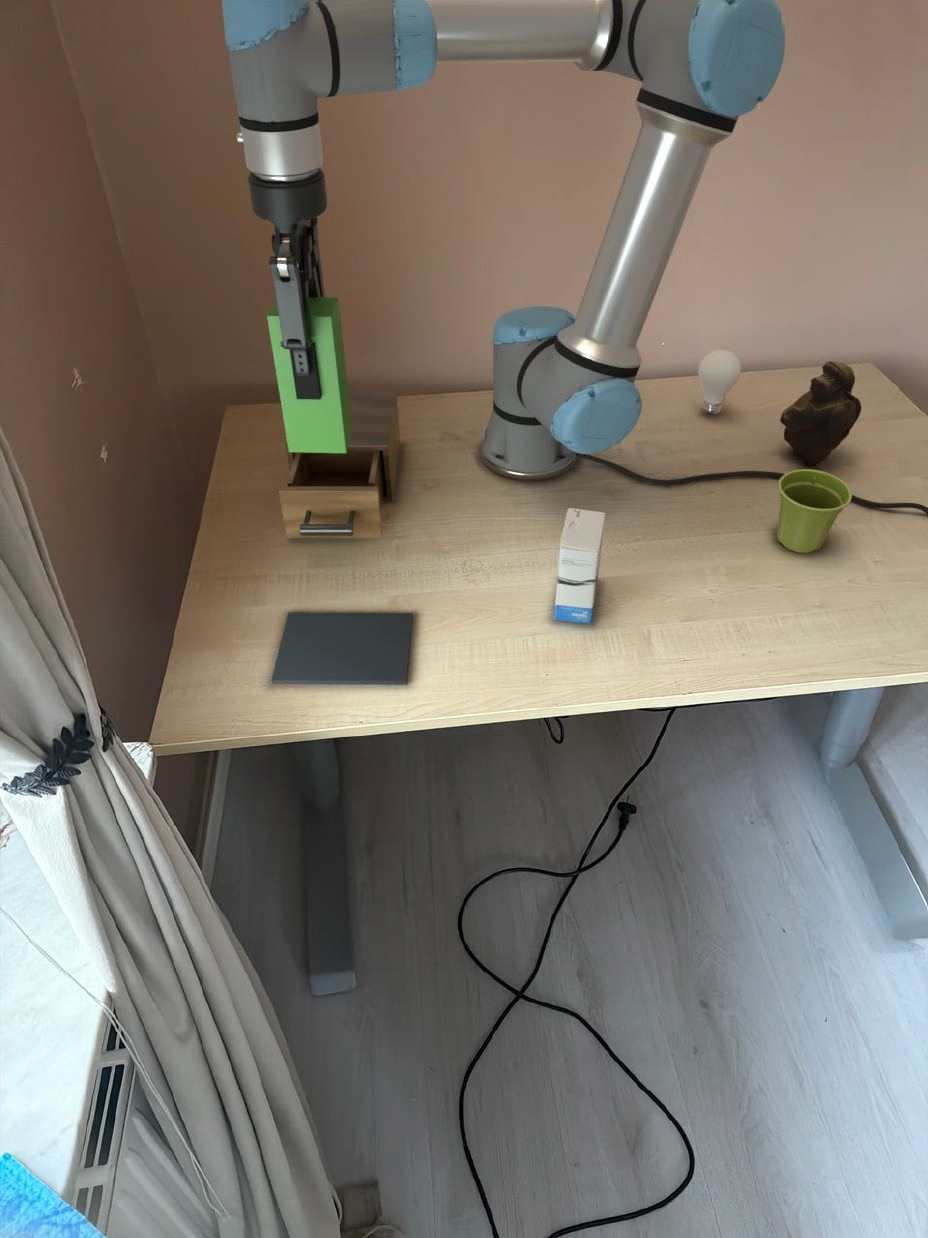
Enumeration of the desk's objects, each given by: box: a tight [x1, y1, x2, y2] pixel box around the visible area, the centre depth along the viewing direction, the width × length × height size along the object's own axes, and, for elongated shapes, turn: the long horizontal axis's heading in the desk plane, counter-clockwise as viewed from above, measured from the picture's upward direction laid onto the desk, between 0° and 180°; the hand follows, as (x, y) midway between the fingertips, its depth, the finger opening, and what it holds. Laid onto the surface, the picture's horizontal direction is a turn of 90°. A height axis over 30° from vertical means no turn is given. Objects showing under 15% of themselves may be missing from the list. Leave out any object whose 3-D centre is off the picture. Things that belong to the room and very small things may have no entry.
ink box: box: [553, 507, 606, 625], centre depth 112 cm, size 8×5×12 cm, turn 168°
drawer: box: [278, 451, 385, 539], centre depth 127 cm, size 19×13×8 cm
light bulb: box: [697, 349, 742, 415], centre depth 147 cm, size 7×7×11 cm
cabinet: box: [285, 391, 401, 503], centre depth 136 cm, size 16×15×10 cm
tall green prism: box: [266, 296, 352, 453], centre depth 103 cm, size 7×5×17 cm
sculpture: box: [779, 360, 862, 467], centre depth 135 cm, size 11×11×15 cm
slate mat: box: [270, 611, 414, 686], centre depth 110 cm, size 16×12×1 cm
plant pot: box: [776, 468, 853, 554], centre depth 122 cm, size 9×9×9 cm
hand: (313, 385), depth 104 cm, fingers closed on tall green prism, 5 cm apart
